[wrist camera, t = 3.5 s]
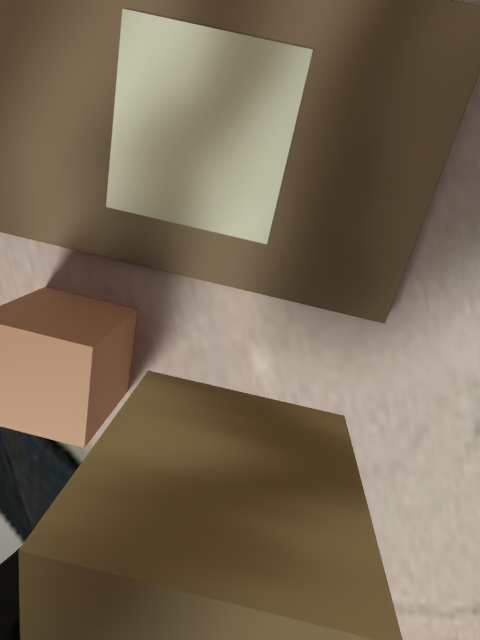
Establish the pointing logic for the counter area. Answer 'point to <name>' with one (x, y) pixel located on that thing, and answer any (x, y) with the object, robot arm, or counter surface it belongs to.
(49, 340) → the terracotta cube
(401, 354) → the counter surface
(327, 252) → the brown wooden board
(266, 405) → the oak block
